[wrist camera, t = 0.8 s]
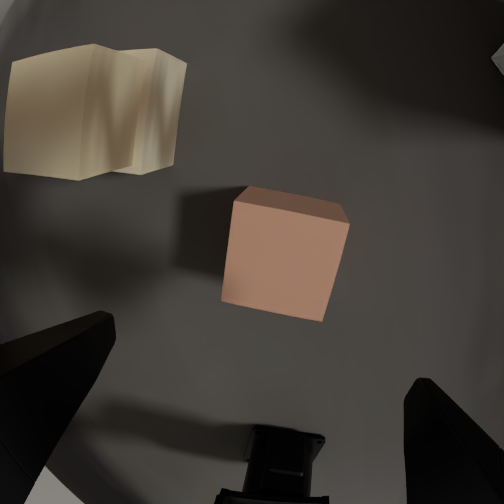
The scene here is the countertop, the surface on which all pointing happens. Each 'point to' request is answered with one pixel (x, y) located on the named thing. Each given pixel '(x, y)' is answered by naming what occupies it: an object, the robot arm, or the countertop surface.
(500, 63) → the supplement box
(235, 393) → the countertop surface
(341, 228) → the terracotta block
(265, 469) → the robot arm
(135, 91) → the tower mid
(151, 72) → the tower base
